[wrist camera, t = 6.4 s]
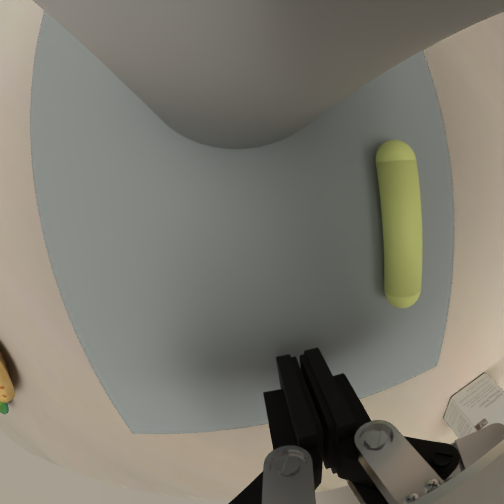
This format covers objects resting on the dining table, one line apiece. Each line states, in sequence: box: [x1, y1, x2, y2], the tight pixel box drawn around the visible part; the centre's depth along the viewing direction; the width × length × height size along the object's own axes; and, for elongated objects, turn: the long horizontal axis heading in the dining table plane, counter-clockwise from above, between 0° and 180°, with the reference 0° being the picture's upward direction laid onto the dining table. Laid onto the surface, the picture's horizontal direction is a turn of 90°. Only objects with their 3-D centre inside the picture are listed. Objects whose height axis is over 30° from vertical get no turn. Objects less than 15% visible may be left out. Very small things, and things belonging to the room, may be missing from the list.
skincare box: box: [444, 373, 504, 439], centre depth 14 cm, size 6×4×12 cm
